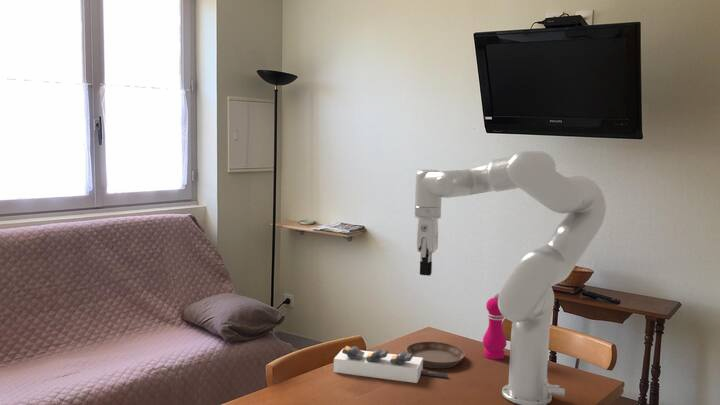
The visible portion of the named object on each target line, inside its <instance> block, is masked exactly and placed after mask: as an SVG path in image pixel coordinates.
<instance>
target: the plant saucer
mask: <svg viewBox="0 0 720 405" xmlns="http://www.w3.org/2000/svg"><path fill="white" fill-rule="evenodd" d="M405 351H406V354H409V353H412V355H413V357H421V358H423V367H425V368H428V369H429V368H430V369H449V368H453V367H456V366H457V365H458V364H459V363H460V362H461V361H462V360H463V359H464V357H465V356H466V353H465V351H464V349H461V348H460V347H458V346H456V345H454V344H450V343H445V342H439V341H418V342H413V343H411V344H409V345H408V346H407V347H406V348H405Z"/></svg>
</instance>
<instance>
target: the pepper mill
mask: <svg viewBox="0 0 720 405" xmlns="http://www.w3.org/2000/svg"><path fill="white" fill-rule="evenodd" d="M498 297H499V293H498V292H495V293H494V294H493V297H491V298H489V299H488V300H487V302H486V306H485V307H486V310H487V315H486V316H487V318H488V327H487V329H486V331H485V332H484V335H483V338H482V346H484V349H483V356H484V357H485V358H487V359H490V360H494V361H497V360H503V359H504V358H505V350H504V349H505V348H506V346H507V338H506V335H505V332H504V330H503V320H504V319H505V317H504V316H503V315H502V314H501V312H500V310H499V307H498Z"/></svg>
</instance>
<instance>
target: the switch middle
mask: <svg viewBox="0 0 720 405" xmlns="http://www.w3.org/2000/svg"><path fill="white" fill-rule="evenodd" d="M373 352H374V353H370V354H368V356H367V357H366V360H367V361H371V360H372V361H374V362H378V361H379V360H380V359H381V358H385V357H386V356H387V354H389V351H388V349H383V350H382V349H380V348H376V349H375V350H374V351H373Z"/></svg>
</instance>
